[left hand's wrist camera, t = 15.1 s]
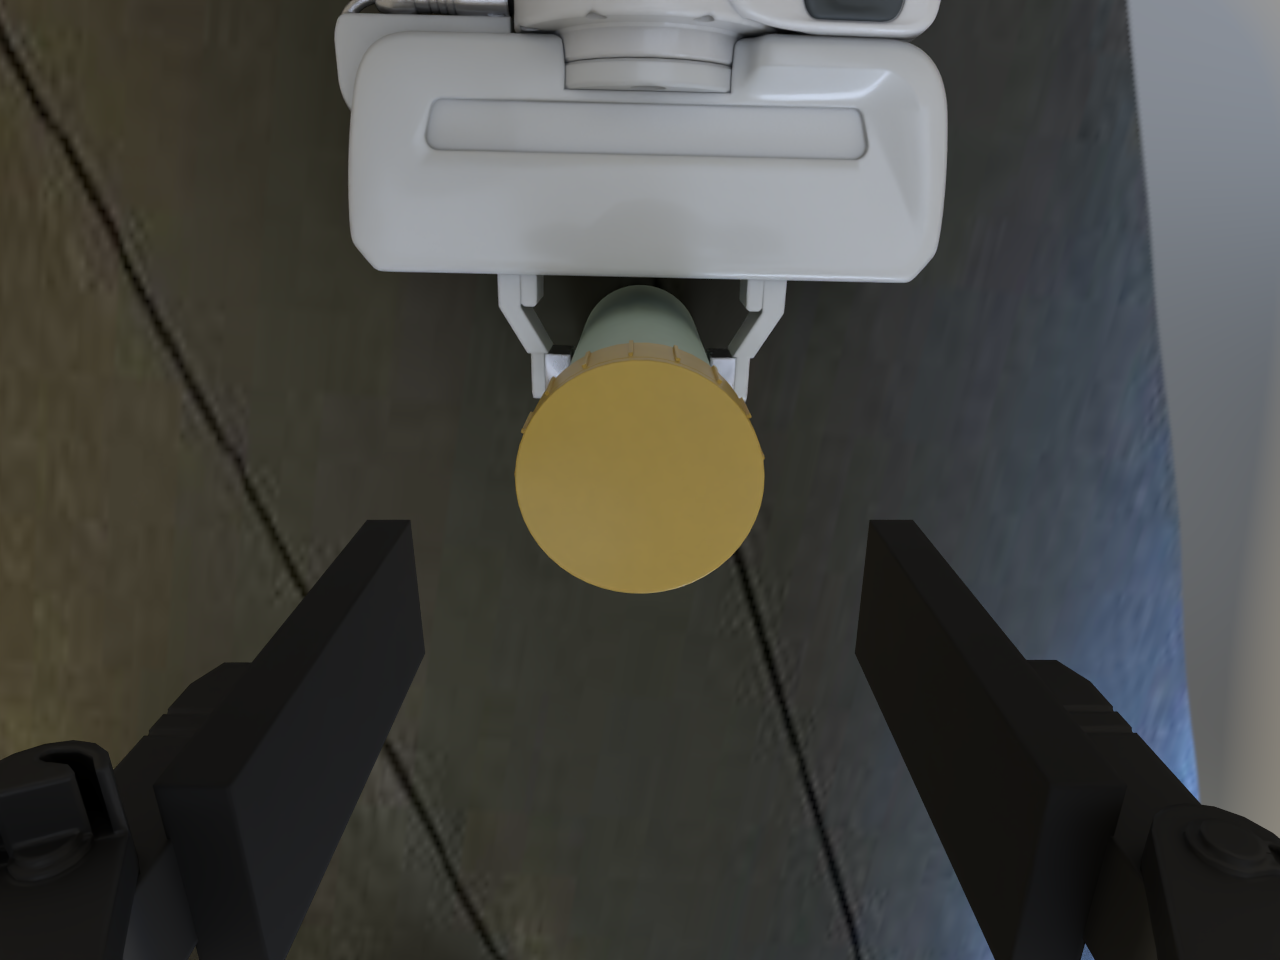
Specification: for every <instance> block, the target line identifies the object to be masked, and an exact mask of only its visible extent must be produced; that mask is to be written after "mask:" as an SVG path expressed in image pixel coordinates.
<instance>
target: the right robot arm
mask: <svg viewBox="0 0 1280 960" xmlns="http://www.w3.org/2000/svg"><path fill="white" fill-rule="evenodd" d="M940 1H941V0H350V2H349V3H348V4H347V5H346V6H345V7H344V8H343V10H342V12H341V14H340V16H339V18H338V19H337V22H336V27H335V38H334V40H335V50H336V60H337V70H338V81H339V86H340V90H341V94H342V97H343V100H344V102H345V103H346V105H347V107H348V109H349V110H350V112H351V118H350V134H349V157H348V199H349V220H350V232H351V238H352V241H353V243H354V245H355V246H356V248H357V249H358V250H359V251H360V252H361V253H362V255H363V256H364V257H365V258H366V259H367V261H368V262H369V263H370V264H371V265H372V266H373V267H374V268H375V269H377V270H379V271H390V272H433V273H478V274H497V275H498V299H499V308H500V309H501V311H502V312H503V314H504V316H505V317H506V319H507V321H508V322H509V324H510V325H511V327H512V329H513V330H514V332H515V333H516V335H517V337H518V338H519V340H520V342H521V343H522V345H523V346H524V348H525V350H526V351H527V353H531V369H532V394H533V398H541V397H542V395H543V393H544V392H545V391H546V389H547V387H548V384H549V382H550V380H551V378H552V377H553V376H554V377H557V376H558V375H559V374H560V373H561V372H562V371H563V370H565V369H566V368H567V367H569V366H570V363H571V360H572V358H573V355H574V346H569V345H553V342H552V340H551V339H550V337H549V335H548V333H547V332H546V330H545V328H544V326H543V325H542V323H541V321H540V319H539V317H538V316H537V314H536V312H535V310H534V309H533V307H534V306H535V305H536V304H537V303H538V302H539V301H540V300H541V298H542V297H543V296H544V278H543V275H569V276H614V277H659V278H704V279H740V298H739V300H740V301H741V303H742V304H743V305H744V306H745V308H746V309H747V310H748V311H750V312H749V314H748V315H747V317H746V319H745V320H744V322H743V323H742V325H741V327H740V328H739V330H738V331H737V333H736V334H735V336H734V338H733V339H732V341H731V342H730V344H729V346H728V349H707V358H708V361H709V363H710V366H711V367H712V366H713V365H714V366H716V367H717V370H718V372H719V374H720V375H721V376H722V377H723V378H724V379H725V380H726V381H727V382H728V383H729V384H730V386H731V387H732V388H733V390H734V391H735V393H736V394H737V396H738V397H739V398H741V397H742V398H743V400H744V402H746V398H747V391H748V377H749V363H750V358H754V356H755V355H756V353H757V352H758V350H759V349H760V347H761V346H762V344H763V343H764V341H765V340H766V339H767V337H768V336H769V334H770V333H771V331H772V330H773V328H774V327H775V325H776V324H777V322H778V321H779V320H780V318H781V317H782V315H783V314H784V306H785V295H786V284H787V280H794V281H839V282H886V283H906V282H909V281H911V280H913V279H914V278H915V277H916V276H917V275H918V274H919V273H920V271H921V270H922V269H923V268H924V267H925V266H926V265H927V264H928V262H929V261H930V260H931V259H932V258H933V256H934V255H935V253H936V250H937V247H938V242H939V237H940V231H941V224H942V216H943V207H944V197H945V184H946V167H947V125H948V117H947V101H946V93H945V88H944V84H943V81H942V78H941V75H940V73H939V70H938V69H937V67H936V65H935V64H934V62H933V61H932V59H931V58H930V57H929V56H928V55H927V54H926V53H925V52H924V51H923V50H921V49H920V48H918V47H917V46H915V45H913V44H910V43H909V42H910V41H912V40H913V39H915V38H916V37H918V36H919V35H920V34H922V33H923V32H924V31H925V30H926V29H927V28H928V27H929V26H930V25H931V24H932V23H933V21H934V19H935V17H936V15H937V12H938V9H939V5H940ZM373 4H375V5H376V7H377V9H378V11H379V12H382V13H385V14H373V13H359V12H360V11H361V10H363V9H364V8H366V7H367V6H370V5H373ZM432 13H434V14H443V15H420V14H432ZM449 14H450V15H449ZM512 14H513V15H514V21H513V19H512ZM514 29H515V32H516V33H514Z"/></svg>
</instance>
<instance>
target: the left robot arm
mask: <svg viewBox="0 0 1280 960" xmlns="http://www.w3.org/2000/svg"><path fill="white" fill-rule="evenodd" d="M424 654H425V648H424V639H423V630H422V621H421V612H420V603H419V594H418V585H417V576H416V567H415V558H414V549H413V540H412V531H411V522H410V520H367V521H366V522H365V523H364V525H363V526H362V527H361V528H360V530H359V531H358V532H357V533H356V534H355V536H354V537H353V538H352V539H351V541H350V542H349V543H348V544H347V546H346V547H345V548H344V549H343V551H342V552H341V553H340V554H339V555H338V557H337V558H336V559H335V560H334V562H333V563H332V564H331V565H330V567H329V568H328V569H327V570H326V572H325V573H324V574H323V575H322V576H321V578H320V579H319V580H318V581H317V583H316V584H315V585H314V586H313V588H312V589H311V590H310V591H309V593H308V594H307V595H306V596H305V597H304V599H303V600H302V601H301V602H300V604H299V605H298V606H297V607H296V609H295V610H294V611H293V612H292V614H291V615H290V616H289V617H288V618H287V620H286V621H285V622H284V623H283V625H282V626H281V627H280V628H279V630H278V631H277V632H276V633H275V635H274V636H273V637H272V638H271V639H270V641H269V642H268V643H267V644H266V646H265V647H264V648H263V649H262V651H261V652H260V653H259V654H258V656H257V657H256V658H255V659H254V661H253V662H252V663H223V664H221V665H220V666H218V667H217V668H215V669H213V670H212V671H210V672H209V673H207V674H206V675H204V676H202V677H201V678H199V679H198V680H196V681H195V682H193V683H191V684H190V685H189V686H188V687H187V688H186V690H185V691H184V692H183V693H182V694H181V695H180V696H179V697H178V699H177V700H176V701H175V702H174V703H173V704H172V705H171V706H170V707H169V709H168V713H167V714H163V715H162V716H161V717H160V719H159V720H158V721H157V722H156V723H155V724H154V725H153V726H152V728H151V729H150V730H149V735H148V736H143V738H142V739H141V740H140V741H139V742H138V743H137V744H136V745H135V746H134V748H133V749H132V750H131V751H130V752H129V753H128V754H127V755H126V757H125V758H124V759H123V760H122V761H121V762H120V763H119V764H118V765H117V767H116V768H115V769H114V770H113V768H112V764H111V761H110V757H109V754H108V752H107V751H106V750H104V749H103V748H101V747H100V746H99V745H97V744H96V743H91V742H83V741H75V740H72V741H64V742H56V743H48V744H43V745H40V746H37V747H34V748H31V749H27V750H24V751H21V752H18V753H14V754H12V755H10V756H8V757H6V758H4V759H2V760H0V960H188V958H189V956H190V954H191V953H192V951H193V949H194V948H195V946H196V949H197V953H198V956H199V960H285V958H286V956H287V954H288V952H289V950H290V948H291V945H292V943H293V941H294V939H295V937H296V934H297V932H298V930H299V928H300V926H301V923H302V921H303V919H304V917H305V915H306V912H307V910H308V908H309V906H310V904H311V902H312V899H313V897H314V895H315V893H316V891H317V888H318V886H319V884H320V882H321V880H322V877H323V875H324V873H325V871H326V869H327V867H328V864H329V862H330V860H331V858H332V856H333V853H334V851H335V849H336V847H337V845H338V842H339V840H340V838H341V836H342V834H343V832H344V829H345V827H346V825H347V823H348V821H349V818H350V816H351V814H352V812H353V810H354V807H355V805H356V803H357V801H358V799H359V797H360V794H361V792H362V790H363V788H364V786H365V783H366V781H367V779H368V777H369V775H370V772H371V770H372V768H373V766H374V764H375V762H376V759H377V757H378V755H379V753H380V751H381V748H382V746H383V744H384V742H385V740H386V737H387V735H388V733H389V731H390V729H391V727H392V724H393V722H394V720H395V718H396V716H397V713H398V711H399V709H400V707H401V705H402V702H403V700H404V698H405V696H406V694H407V692H408V689H409V687H410V685H411V683H412V681H413V678H414V676H415V674H416V672H417V670H418V667H419V665H420V663H421V661H422V659H423V657H424ZM855 654H856V657H857V659H858V661H859V663H860V665H861V667H862V670H863V672H864V674H865V676H866V678H867V681H868V683H869V685H870V687H871V689H872V692H873V694H874V696H875V698H876V700H877V702H878V705H879V707H880V709H881V711H882V713H883V716H884V718H885V720H886V722H887V724H888V727H889V729H890V731H891V733H892V735H893V737H894V740H895V742H896V744H897V746H898V748H899V751H900V753H901V755H902V757H903V759H904V762H905V764H906V766H907V768H908V770H909V772H910V775H911V777H912V779H913V781H914V783H915V786H916V788H917V790H918V792H919V794H920V797H921V799H922V801H923V803H924V805H925V807H926V810H927V812H928V814H929V816H930V818H931V821H932V823H933V825H934V827H935V829H936V832H937V834H938V836H939V838H940V840H941V842H942V845H943V847H944V849H945V851H946V853H947V856H948V858H949V860H950V862H951V864H952V867H953V869H954V871H955V873H956V875H957V877H958V880H959V882H960V884H961V886H962V888H963V891H964V893H965V895H966V897H967V899H968V902H969V904H970V906H971V908H972V910H973V912H974V915H975V917H976V919H977V921H978V923H979V926H980V928H981V930H982V932H983V934H984V937H985V939H986V941H987V943H988V945H989V948H990V950H991V952H992V954H993V956H994V958H995V960H1081V956H1082V953H1083V949H1084V945H1085V944H1086V945H1087V947H1088V949H1089V950H1090V952H1091V954H1092V955H1093V957H1094V959H1095V960H1280V838H1278V837H1277V836H1276V835H1275V834H1273V833H1272V832H1270V831H1268V830H1267V829H1265V828H1263V827H1261V826H1259V825H1258V824H1256V823H1254V822H1252V821H1250V820H1249V819H1247V818H1245V817H1243V816H1240V815H1237V814H1234V813H1231V812H1228V811H1225V810H1223V809H1220V808H1217V807H1214V806H1206V805H1201V804H1200V803H1199V802H1198V800H1197V799H1196V798H1195V797H1194V796H1193V795H1192V794H1191V793H1190V792H1189V790H1188V789H1187V788H1186V787H1185V786H1184V785H1183V784H1182V783H1181V782H1180V780H1179V779H1178V778H1177V777H1176V776H1175V775H1174V774H1173V773H1172V772H1171V771H1170V769H1169V768H1168V767H1167V766H1166V765H1165V764H1164V763H1163V762H1162V761H1161V759H1160V758H1159V757H1158V756H1157V755H1156V754H1155V753H1154V752H1153V751H1152V749H1151V748H1150V747H1149V746H1148V745H1147V744H1146V743H1145V742H1144V741H1143V739H1142V738H1141V737H1140V736H1139V735H1138V734H1137V733H1133V732H1132V727H1131V726H1130V725H1129V724H1128V723H1127V722H1126V721H1125V720H1124V718H1123V717H1122V716H1121V715H1120V714H1119V713H1118V712H1114V711H1113V706H1112V705H1111V704H1110V703H1109V702H1108V701H1107V700H1106V699H1105V697H1104V696H1103V695H1102V694H1101V693H1100V692H1099V691H1098V690H1097V689H1096V687H1095V686H1094V685H1093V684H1092V683H1091V682H1090V681H1089V680H1087V679H1085V678H1084V677H1082V676H1081V675H1079V674H1077V673H1076V672H1074V671H1073V670H1071V669H1070V668H1068V667H1066V666H1065V665H1063V664H1062V663H1060V662H1058V661H1057V660H1026V659H1025V658H1024V657H1023V656H1022V654H1021V653H1020V652H1019V651H1018V649H1017V648H1016V647H1015V646H1014V644H1013V643H1012V642H1011V641H1010V640H1009V638H1008V637H1007V636H1006V635H1005V633H1004V632H1003V631H1002V630H1001V628H1000V627H999V626H998V625H997V623H996V622H995V621H994V620H993V618H992V617H991V616H990V615H989V614H988V612H987V611H986V610H985V609H984V607H983V606H982V605H981V604H980V602H979V601H978V600H977V599H976V597H975V596H974V595H973V594H972V593H971V591H970V590H969V589H968V588H967V586H966V585H965V584H964V583H963V581H962V580H961V579H960V578H959V576H958V575H957V574H956V573H955V572H954V570H953V569H952V568H951V567H950V565H949V564H948V563H947V562H946V560H945V559H944V558H943V557H942V555H941V554H940V553H939V552H938V551H937V549H936V548H935V547H934V546H933V544H932V543H931V542H930V541H929V539H928V538H927V537H926V536H925V534H924V533H923V532H922V531H921V530H920V528H919V527H918V526H917V525H916V523H915V522H914V521H913V520H870V522H869V531H868V540H867V549H866V558H865V567H864V576H863V585H862V594H861V603H860V612H859V621H858V630H857V639H856V648H855Z"/></svg>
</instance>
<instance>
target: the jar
mask: <svg viewBox="0 0 1280 960" xmlns="http://www.w3.org/2000/svg"><path fill="white" fill-rule="evenodd" d="M629 340H633V343H655V344H662V345H666V346H670V347H673V346H674V345H677V346H678V349H680V350H683V351H685V352H687V353H690V354H692V355H694V356H696V357H697V358H699V359H701V360H702V361H704V362H706V363H707V364H708V365H710V363H709V361H708V358H707V355H706V353H705V350H704V348H703V345H702V342H701V340H700V337H699V334H698V332H697V329H696V327H695V324H694V321H693V319H692V317H691V315H690V313H689V311H688V310H687V309H686V307H685V306H684V305H683V304H682V303H681V302H680V301H679V300H678V299H677V298H676V297H674V296H673V295H672V294H670V293H668V292H667V291H664V290H662V289H660V288H657V287H653V286H647V285H633V286H627V287H624V288H620V289H618V290H616V291H613V292H612V293H610V294H608V295H607V296H606V297H604V298H603V299H602V300H601V301H600V302H599V303H598V304H597V305H596V306H595V307H594V309H593V310H592V312H591V313H590V315H589V317H588V319H587V322H586V324H585V327H584V329H583V332H582V335H581V337H580V340H579V342H578V345H577V347H576V350H575V353H574V355H573V358H572V360H571V363H570V365H571V364H572V363H574V362H575V361H577V360H579V359H580V358H582V357H584V356H585V354H586V352H588V351H590V352H591V353H592V352H595V351H597V350H599V349H602V348H606V347H609V346H613V345H617V344H625V343H629Z"/></svg>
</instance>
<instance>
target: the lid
mask: <svg viewBox="0 0 1280 960" xmlns="http://www.w3.org/2000/svg"><path fill="white" fill-rule="evenodd" d="M749 418H751V414H750V412H749V410H748V408H747V406H746V404H745V402H744V400H743V398H742V397H741V398H739V397H738V396H737V394H736V393H735V391H734V390H733V388H732V387H731V386H730V384H729V383H728V382H727V381H726V380H725V379H724V378H723V377H722V376H721V375H720V374H719V372H718V370H717V367H716V366H714V365H713V366H712V367H711V366H710V365H708V364H707V363H706V362H704V361H702V360H701V359H699V358H697V357H696V356H694V355H692V354H690V353H687V352H685V351H683V350H680V349H678V346H677V345H674V346H673V347H670V346H666V345H662V344H655V343H633V340H629V343H625V344H617V345H613V346H609V347H606V348H602V349H599V350H597V351H595V352H592V353H591V352H590V351H588V352H586V354H585V356H584V357H582V358H580V359H579V360H577V361H575V362H574V363H572V364H571V365H570V366H569V367H567V368H566V369H565V370H563V371H562V372H561V373H560V374H559V375H558V376H557V377H554V376H553V377H552V378H551V380H550V382H549V384H548V387H547V389H546V391H545V392H544V393H543V395H542V397H541V399H540V400H539V402H538V404H537V406H536V408H535V410H534V412H530V414H529V416H528V418H527V420H526V422H525V424H524V426H523V428H522V431H521V433H523V437H522V440H521V442H520V445H519V450H518V454H517V458H516V468H515V472H514V474H515V485H516V494H517V499H518V504H519V507H520V510H521V513H522V516H523V519H524V521H525V523H526V525H527V527H528V529H529V531H530V533H531V534H532V536H533V537H534V539H535V540H536V542H537V543H538V545H539V546H540V547H541V548H542V549H543V550H544V552H545V553H546V554H547V555H548V556H549V557H550V558H551V559H552V560H553V561H555V562H556V563H557V564H558V565H559V566H560V567H562V568H563V569H565V570H566V571H568V572H569V573H570V574H572V575H573V576H575V577H577V578H579V579H581V580H583V581H585V582H587V583H590V584H593V585H595V586H598V587H601V588H605V589H609V590H613V591H618V592H626V593H653V592H662V591H667V590H671V589H675V588H679V587H681V586H684V585H687V584H690V583H692V582H694V581H696V580H698V579H700V578H702V577H704V576H706V575H707V574H709V573H711V572H712V571H714V570H715V569H717V568H718V567H719V566H720V565H722V564H723V563H724V562H725V561H726V560H727V559H728V558H730V557H731V555H732V554H733V553H734V552H735V551H736V550H737V549H738V548H739V547H740V545H741V544H742V542H743V541H744V540H745V538H746V537H747V535H748V534H749V532H750V530H751V528H752V526H753V524H754V522H755V520H756V517H757V514H758V512H759V509H760V506H761V501H762V496H763V491H764V476H765V475H764V462H763V459H764V454H763V452H762V450H761V448H760V444H759V441H758V439H757V436H756V433H755V431H754V428H753V426H752V424H751V422H750V420H749Z"/></svg>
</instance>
